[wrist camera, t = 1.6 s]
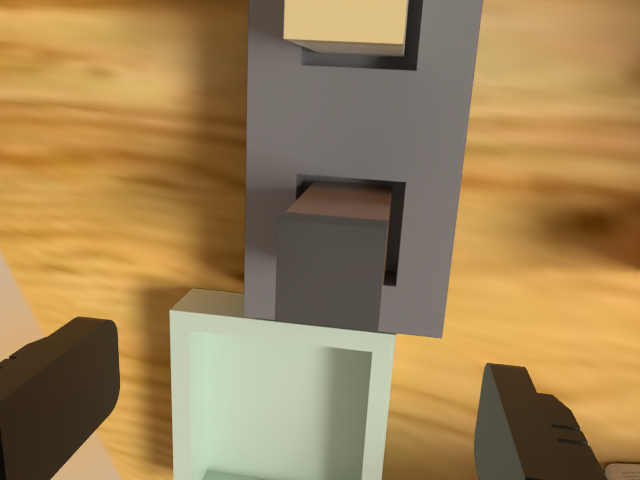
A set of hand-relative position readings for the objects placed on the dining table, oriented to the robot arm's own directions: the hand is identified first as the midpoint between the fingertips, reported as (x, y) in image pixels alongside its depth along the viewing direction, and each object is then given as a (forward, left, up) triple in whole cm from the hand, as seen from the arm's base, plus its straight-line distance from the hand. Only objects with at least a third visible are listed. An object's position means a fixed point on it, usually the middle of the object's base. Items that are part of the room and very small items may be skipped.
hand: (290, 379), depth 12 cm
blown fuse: (0, 0, -15) cm, 15 cm away
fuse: (-9, 0, -15) cm, 17 cm away
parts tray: (+11, -3, -17) cm, 20 cm away
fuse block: (-5, 0, -17) cm, 17 cm away
